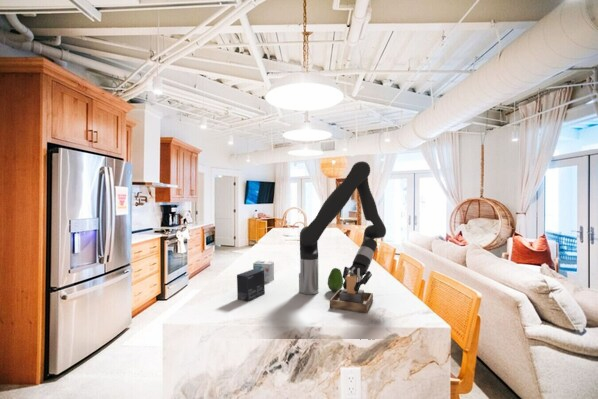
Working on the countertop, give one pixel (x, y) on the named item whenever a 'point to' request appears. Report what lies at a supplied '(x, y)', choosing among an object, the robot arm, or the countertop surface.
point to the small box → (250, 284)
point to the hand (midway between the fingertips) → (349, 289)
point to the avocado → (335, 280)
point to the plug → (351, 283)
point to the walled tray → (351, 305)
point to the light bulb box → (265, 269)
